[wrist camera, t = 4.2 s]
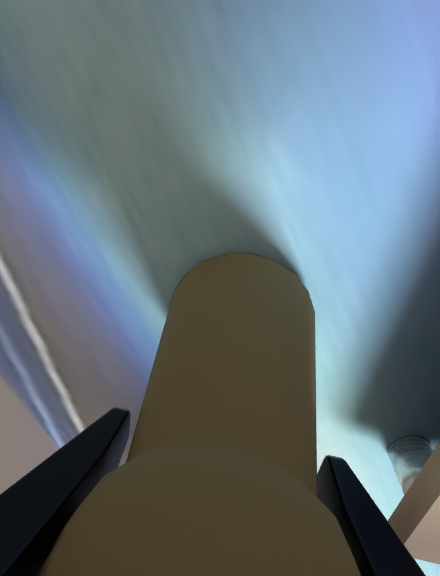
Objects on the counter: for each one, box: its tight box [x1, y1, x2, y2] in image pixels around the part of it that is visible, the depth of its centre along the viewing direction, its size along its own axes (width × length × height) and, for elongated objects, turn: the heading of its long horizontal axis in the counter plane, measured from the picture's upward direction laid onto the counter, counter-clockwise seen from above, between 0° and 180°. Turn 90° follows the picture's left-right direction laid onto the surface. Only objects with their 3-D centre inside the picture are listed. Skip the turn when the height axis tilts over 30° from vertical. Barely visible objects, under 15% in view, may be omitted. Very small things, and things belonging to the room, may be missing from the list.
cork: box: [39, 253, 361, 576], centre depth 9 cm, size 6×6×11 cm
